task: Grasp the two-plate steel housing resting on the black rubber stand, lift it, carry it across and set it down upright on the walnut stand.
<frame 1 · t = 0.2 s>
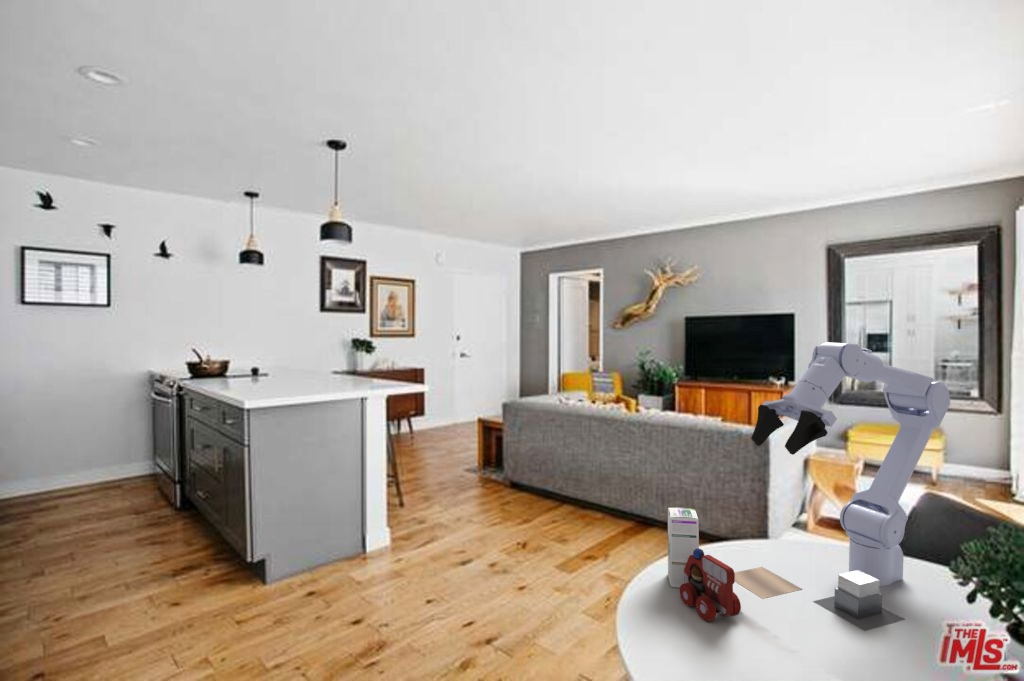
hand: (771, 446, 98), 31 cm above the table, tool tilted 45°, fingers open, 7 cm apart
housing: (857, 609, 97), point 1 cm above the table, touching stand a
toy fire truck: (708, 609, 100), on the table
stand a: (857, 618, 97), on the table
stand b: (762, 589, 107), on the table
syrup box: (682, 582, 110), on the table
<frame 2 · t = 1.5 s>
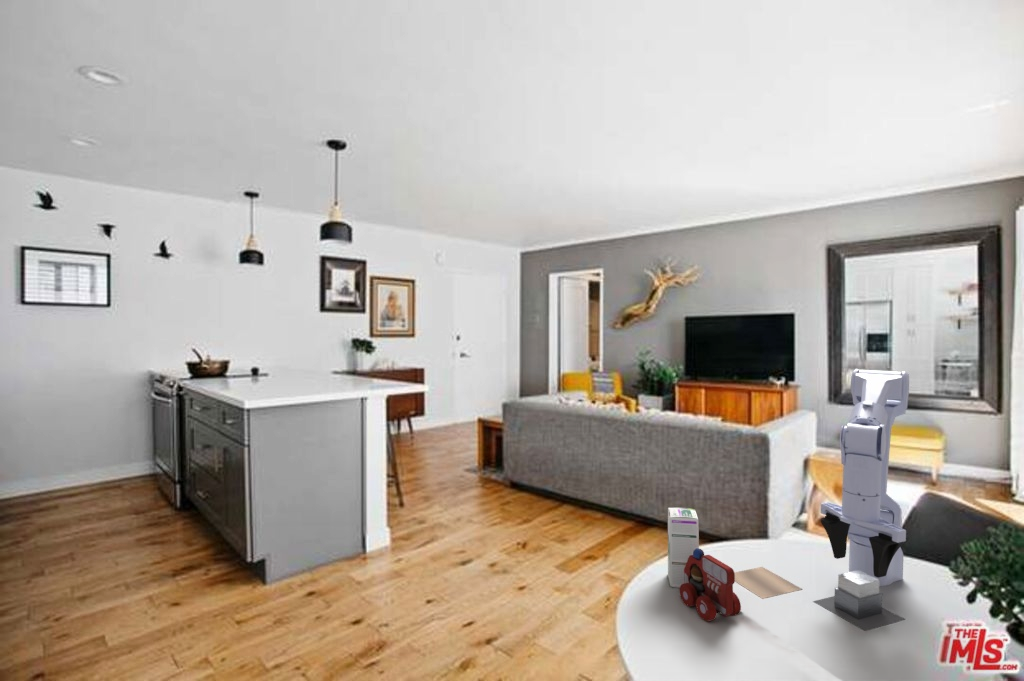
hand: (859, 566, 96), 10 cm above the table, tool pointing down, fingers open, 7 cm apart
nothing on the table moved.
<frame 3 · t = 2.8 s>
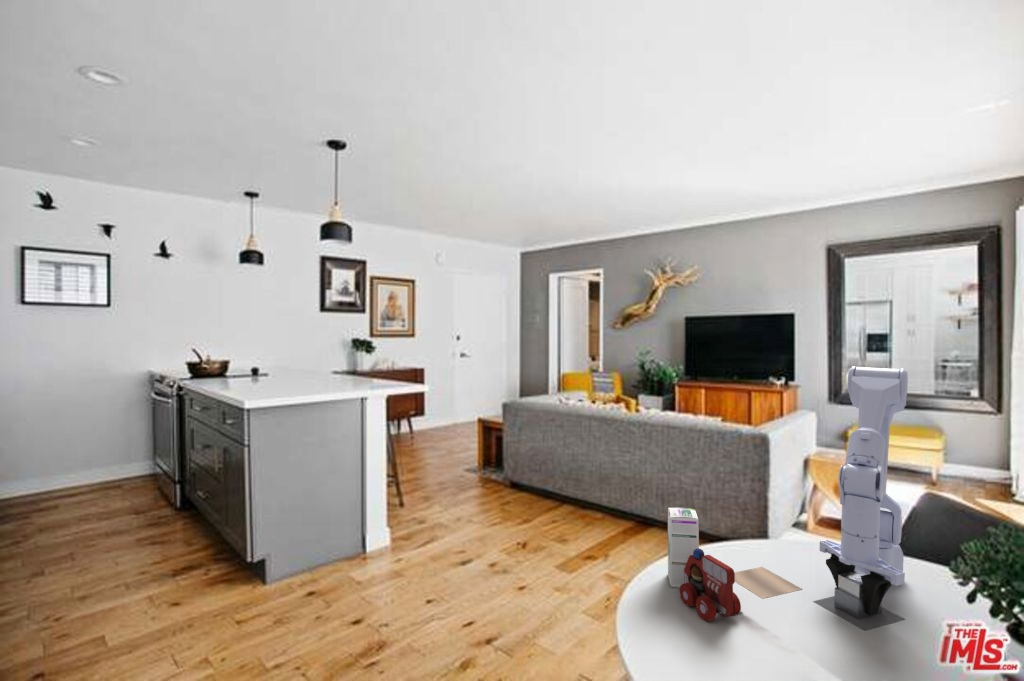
hand: (857, 606, 97), 2 cm above the table, tool pointing down, fingers closed on housing, 4 cm apart
housing: (857, 609, 97), point 1 cm above the table, touching gripper, stand a
everything else where it was.
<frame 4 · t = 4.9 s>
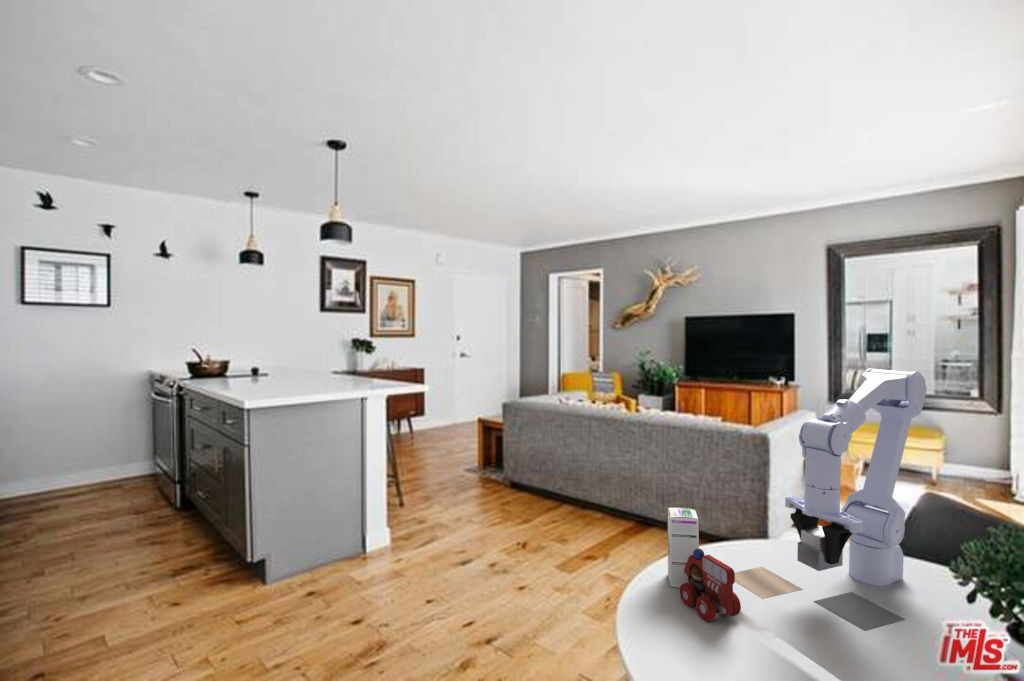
hand: (820, 557, 100), 9 cm above the table, tool pointing down, fingers closed on housing, 4 cm apart
housing: (819, 563, 100), point 8 cm above the table, touching gripper
everything else where it was.
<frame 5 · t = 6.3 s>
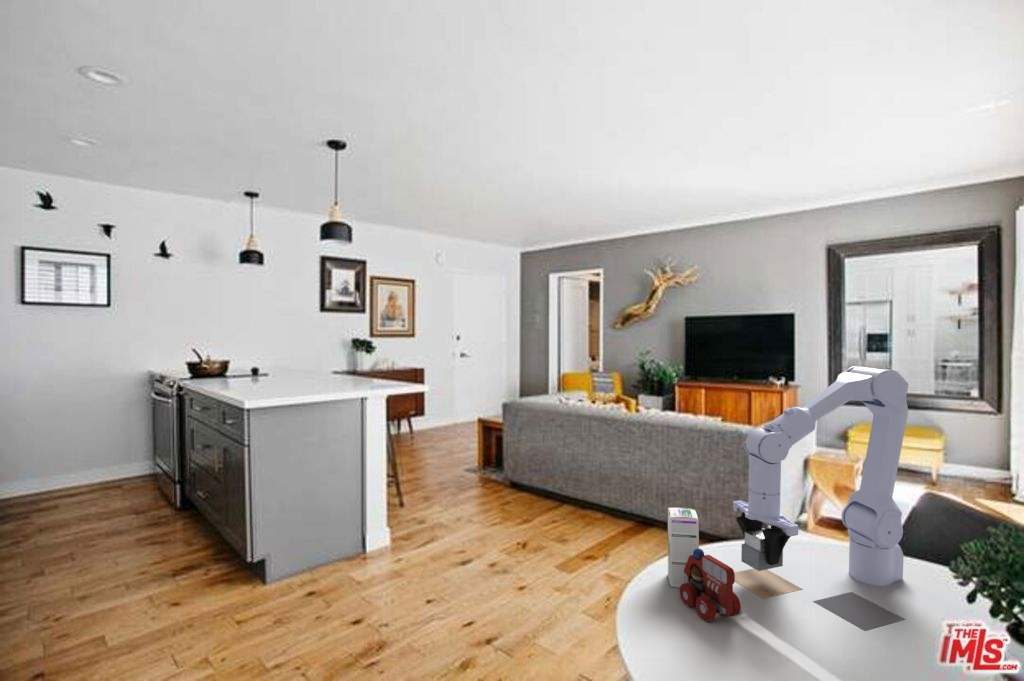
hand: (762, 558, 107), 6 cm above the table, tool pointing down, fingers closed on housing, 4 cm apart
housing: (761, 563, 107), point 5 cm above the table, touching gripper
everything else where it was.
when the fingers open (3 cm above the table, at t = 7.3 s): housing stays where it is, resting on stand b.
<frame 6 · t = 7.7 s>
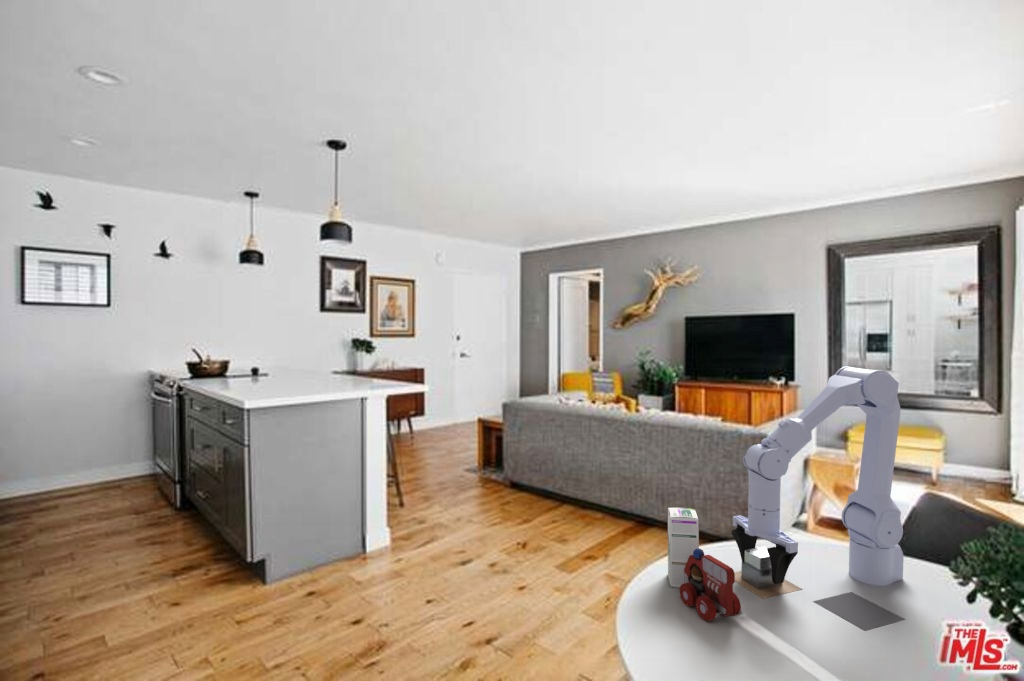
hand: (762, 573, 107), 3 cm above the table, tool pointing down, fingers open, 7 cm apart
housing: (761, 581, 107), point 1 cm above the table, touching stand b
everything else where it was.
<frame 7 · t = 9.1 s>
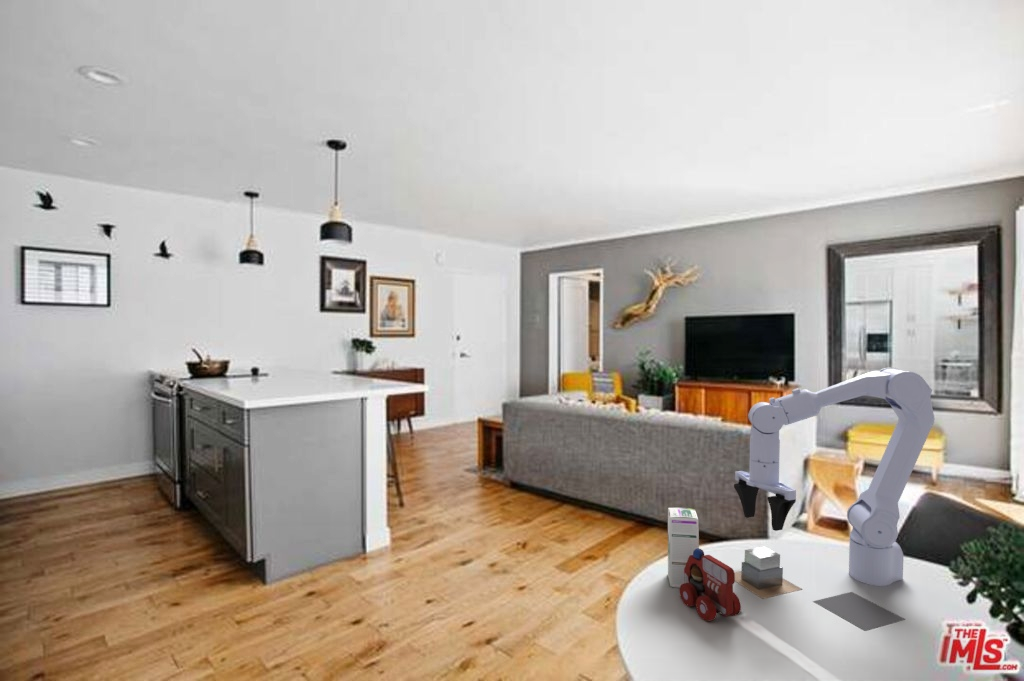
hand: (763, 523, 114), 10 cm above the table, tool pointing down, fingers open, 7 cm apart
nothing on the table moved.
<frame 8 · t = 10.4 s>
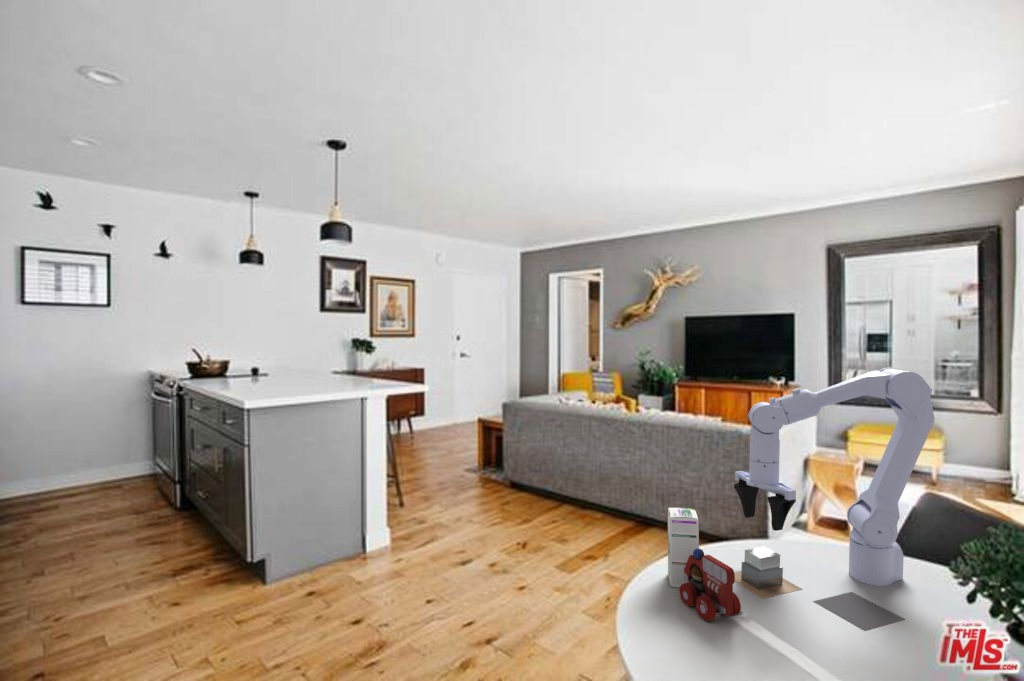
hand: (763, 522, 114), 10 cm above the table, tool pointing down, fingers open, 7 cm apart
nothing on the table moved.
at the end: housing inside the target area on the stand b (0.2 cm from its centre), point 1.5 cm above the stand b's base; housing tilted 0°; the gripper is holding nothing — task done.
